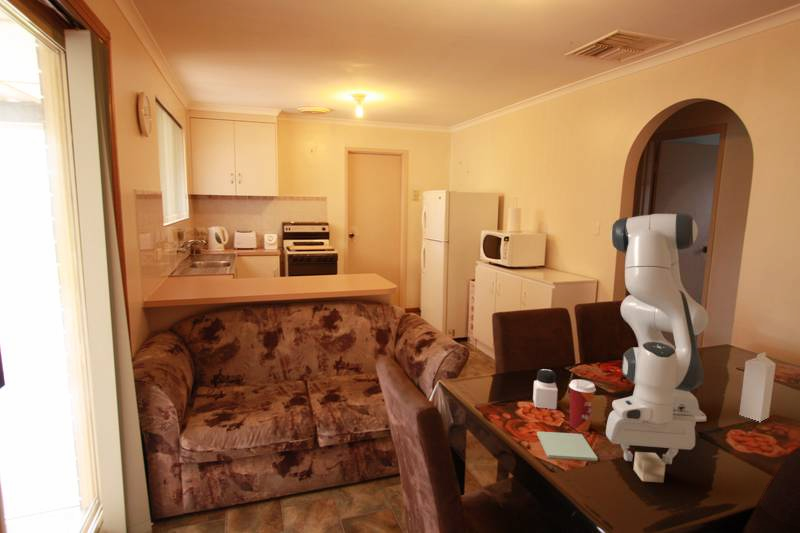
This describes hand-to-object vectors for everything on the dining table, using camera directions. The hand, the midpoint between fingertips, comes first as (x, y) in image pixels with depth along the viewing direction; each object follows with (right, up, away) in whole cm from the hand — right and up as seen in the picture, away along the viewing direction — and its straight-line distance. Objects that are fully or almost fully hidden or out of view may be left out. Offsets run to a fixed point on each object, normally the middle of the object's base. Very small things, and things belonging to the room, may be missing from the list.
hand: (647, 461), depth 111 cm
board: (-15, -2, +14) cm, 21 cm away
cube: (+1, -4, +1) cm, 4 cm away
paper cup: (-6, -1, +26) cm, 27 cm away
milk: (+55, -1, +35) cm, 66 cm away
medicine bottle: (-12, +1, +41) cm, 43 cm away
